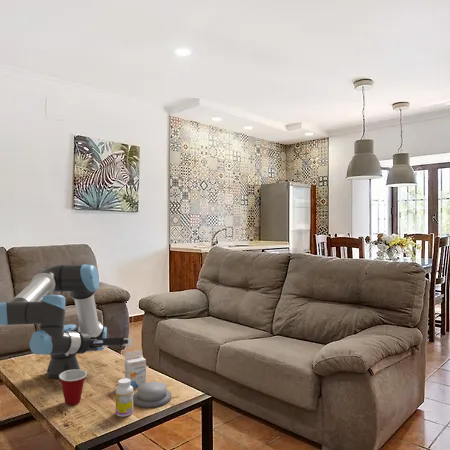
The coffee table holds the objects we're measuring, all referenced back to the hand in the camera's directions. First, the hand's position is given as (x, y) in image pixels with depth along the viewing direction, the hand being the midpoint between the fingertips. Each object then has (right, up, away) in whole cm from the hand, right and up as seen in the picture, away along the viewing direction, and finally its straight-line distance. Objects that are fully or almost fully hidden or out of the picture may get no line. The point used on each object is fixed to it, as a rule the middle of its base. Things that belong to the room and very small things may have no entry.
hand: (119, 342), depth 158 cm
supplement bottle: (+3, -27, -3) cm, 27 cm away
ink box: (+1, -27, +25) cm, 37 cm away
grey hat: (+11, -27, +10) cm, 31 cm away
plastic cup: (-21, -27, +7) cm, 35 cm away
